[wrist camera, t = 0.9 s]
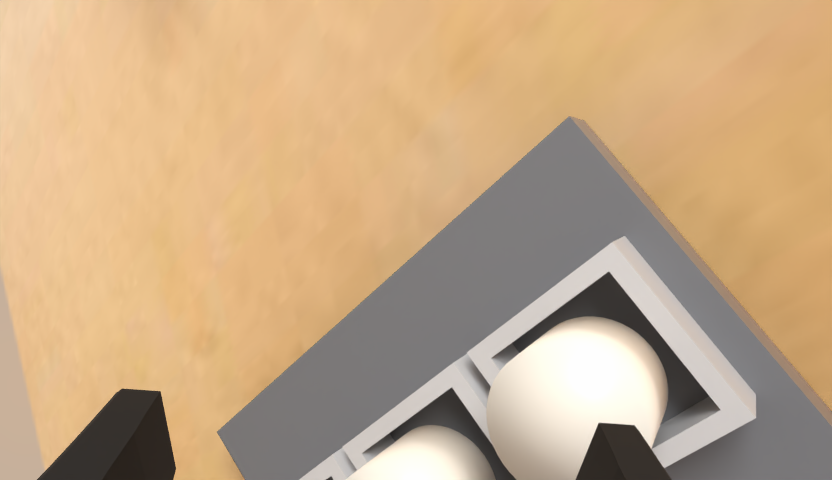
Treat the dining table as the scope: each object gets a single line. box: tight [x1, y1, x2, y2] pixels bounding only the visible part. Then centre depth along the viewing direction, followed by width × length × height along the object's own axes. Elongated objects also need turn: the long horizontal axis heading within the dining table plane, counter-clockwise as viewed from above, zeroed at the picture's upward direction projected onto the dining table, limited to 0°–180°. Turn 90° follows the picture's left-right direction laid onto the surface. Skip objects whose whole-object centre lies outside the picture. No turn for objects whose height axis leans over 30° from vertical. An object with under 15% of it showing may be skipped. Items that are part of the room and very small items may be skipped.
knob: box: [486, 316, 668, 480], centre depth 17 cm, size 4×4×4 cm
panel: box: [217, 116, 832, 480], centre depth 23 cm, size 14×21×4 cm, turn 130°
